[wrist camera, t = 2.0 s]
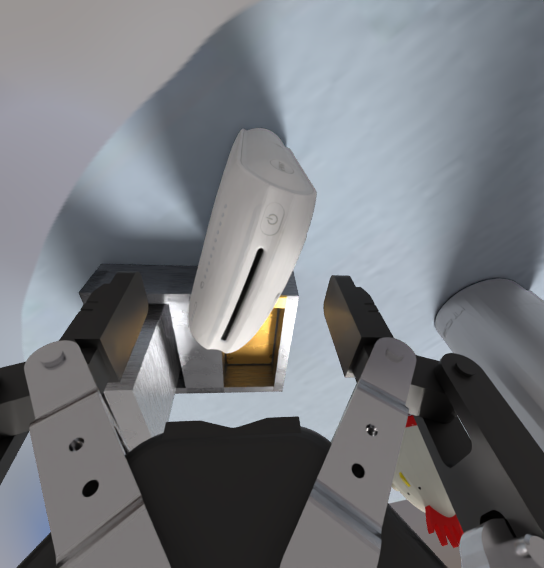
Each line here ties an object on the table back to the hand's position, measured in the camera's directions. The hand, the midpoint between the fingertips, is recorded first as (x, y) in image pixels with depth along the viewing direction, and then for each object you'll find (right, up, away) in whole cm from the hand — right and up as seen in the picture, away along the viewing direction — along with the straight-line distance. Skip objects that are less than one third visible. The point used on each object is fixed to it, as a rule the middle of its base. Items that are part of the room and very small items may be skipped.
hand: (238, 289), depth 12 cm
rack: (-6, -4, +17) cm, 18 cm away
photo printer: (-1, +7, +10) cm, 12 cm away
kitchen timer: (+26, -26, +38) cm, 53 cm away
